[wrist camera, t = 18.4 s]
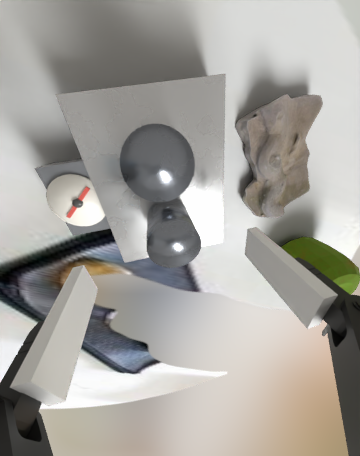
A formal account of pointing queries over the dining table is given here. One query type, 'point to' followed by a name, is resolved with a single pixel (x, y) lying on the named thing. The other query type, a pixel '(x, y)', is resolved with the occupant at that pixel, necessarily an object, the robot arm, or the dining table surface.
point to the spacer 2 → (171, 234)
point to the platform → (139, 116)
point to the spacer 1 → (157, 162)
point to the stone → (277, 152)
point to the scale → (73, 196)
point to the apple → (326, 261)
